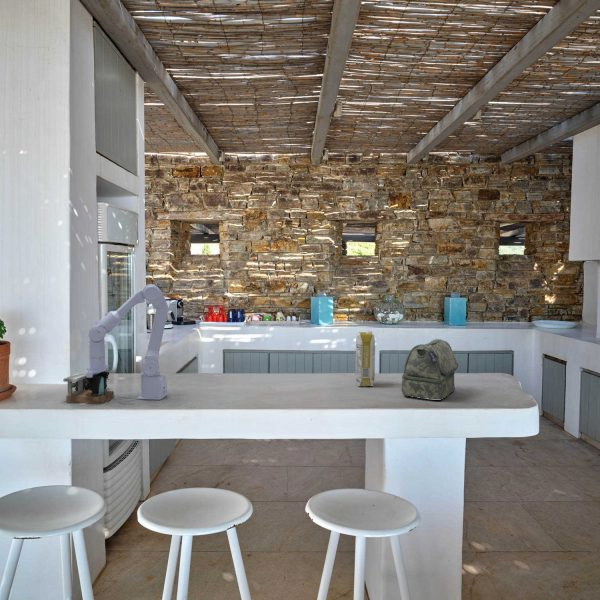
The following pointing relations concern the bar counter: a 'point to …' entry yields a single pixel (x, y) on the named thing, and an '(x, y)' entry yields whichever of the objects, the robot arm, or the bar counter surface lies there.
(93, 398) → the socket station
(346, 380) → the bar counter surface
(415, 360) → the lunch bag
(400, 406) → the bar counter surface
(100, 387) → the peg
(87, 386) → the fruit
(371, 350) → the juice carton
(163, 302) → the robot arm
